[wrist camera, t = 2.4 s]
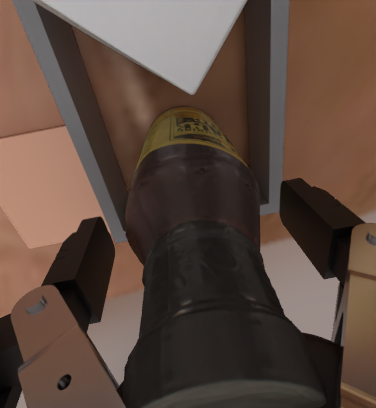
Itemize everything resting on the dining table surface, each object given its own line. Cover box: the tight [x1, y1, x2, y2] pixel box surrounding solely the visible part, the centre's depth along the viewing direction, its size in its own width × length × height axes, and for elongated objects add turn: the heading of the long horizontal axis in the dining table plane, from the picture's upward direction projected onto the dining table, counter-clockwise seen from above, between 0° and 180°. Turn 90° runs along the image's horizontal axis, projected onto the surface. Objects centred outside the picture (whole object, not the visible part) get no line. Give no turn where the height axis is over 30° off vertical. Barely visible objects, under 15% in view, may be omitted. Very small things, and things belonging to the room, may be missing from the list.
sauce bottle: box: [122, 106, 327, 408], centre depth 13 cm, size 6×6×20 cm
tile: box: [0, 125, 111, 249], centre depth 23 cm, size 11×11×1 cm
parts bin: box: [12, 0, 289, 243], centre depth 17 cm, size 14×22×5 cm, turn 10°
